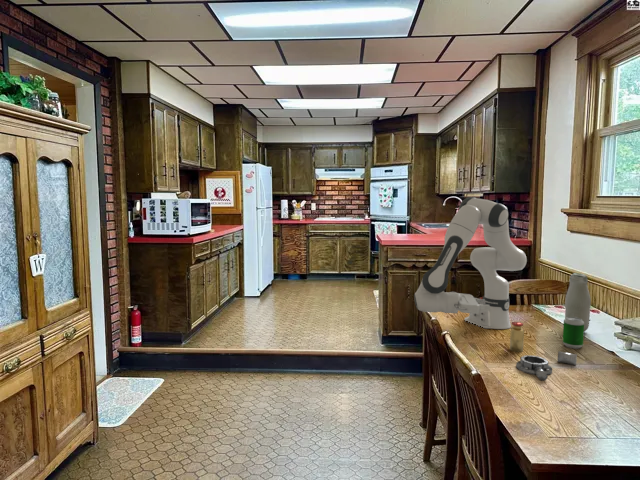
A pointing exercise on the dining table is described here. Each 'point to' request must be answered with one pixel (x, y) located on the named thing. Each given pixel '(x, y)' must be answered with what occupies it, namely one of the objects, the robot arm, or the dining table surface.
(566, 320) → the soda can
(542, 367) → the flange fitting
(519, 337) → the red capped jar
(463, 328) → the dining table surface
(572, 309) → the grey bottle
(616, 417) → the dining table surface
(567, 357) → the block
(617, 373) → the dining table surface
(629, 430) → the dining table surface
